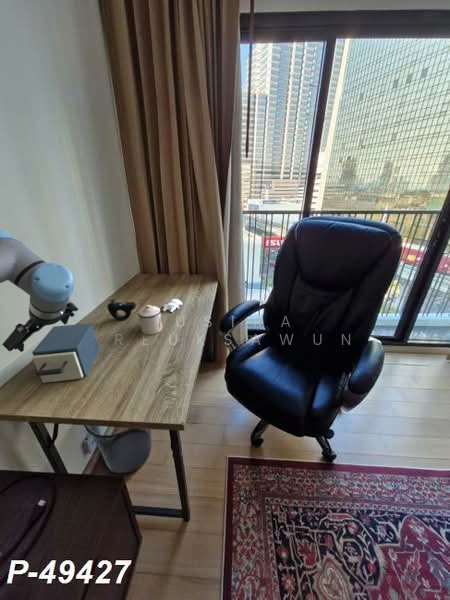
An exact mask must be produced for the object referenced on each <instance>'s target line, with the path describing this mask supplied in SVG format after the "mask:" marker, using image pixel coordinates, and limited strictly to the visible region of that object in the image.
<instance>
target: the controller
mask: <svg viewBox="0 0 450 600" xmlns="http://www.w3.org/2000/svg"><path fill="white" fill-rule="evenodd" d="M109 301H110V302H109V303H108V304H107V306H106V307H107V311H108V312H109V314H110V316H111V317H112V318H113V319H115V320H117V321H125V320H128V319H129V318H130V317H131V315H132V310H134V309H136V308H137V304H136V303H135V302H134V301H126V302H122V301H121V302H120V301H117V302H116V299H114V298H113V299H110V300H109ZM118 311H122V312H124V313H125V314H124V315H121V314H119V313H118Z"/></svg>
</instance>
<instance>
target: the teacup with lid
mask: <svg viewBox="0 0 450 600" xmlns="http://www.w3.org/2000/svg"><path fill="white" fill-rule="evenodd" d="M161 311H162V310H161V309H160V308H159V306H155V305H151V304H146V305H145V306H144V307H142V308H140V309H139V310H138V312H137V316H138V317H139V323H140V329H141V332H142V333H143V334H144V335H149V336H150V335H156V334H158V333H160V332H161V331H162V330H163V323H162V314H161Z"/></svg>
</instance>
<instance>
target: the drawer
mask: <svg viewBox="0 0 450 600" xmlns="http://www.w3.org/2000/svg"><path fill="white" fill-rule="evenodd" d="M32 361H33V363H34V365H35V368H36V371H35V372H34V376H35V377H40V379H41V381H42V383H43V384H45V383H53V382H54V383H55V382H61V381H62V382H63V381H71V380H80V379H83V378H84V377H83V373H82V370H81V367H80V364H79V361H78V358H77V355H76V353H75V350H73V351H63V352H53V353H43V354H40V355H36V356H32Z"/></svg>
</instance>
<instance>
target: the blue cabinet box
mask: <svg viewBox="0 0 450 600" xmlns="http://www.w3.org/2000/svg"><path fill="white" fill-rule="evenodd" d="M73 350H75V353H76V355H77V358H78V361H79V364H80V367H81V370H82V373H83V378H86V377H88V375H89V372H90V370H91V368H92V366H93V364H94V362H95V360H96V357H97V355H98V353H99V352H100V347H99V343H98V340H97V337H96V333H95V330H94V326H93V323H92V322H89V323H78V324H65V325H56V326H55V325H54V326H52V328H51V329H50V330H49V332H48V333H46V335H45V336H44V338H42V340H41V341H40V342H39V343H38V344H37V346H36V347H35V348H33V350H32V351H31V354H32V357H34V356H36V355H40V354H43V353H53V352H63V351H73Z"/></svg>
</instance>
